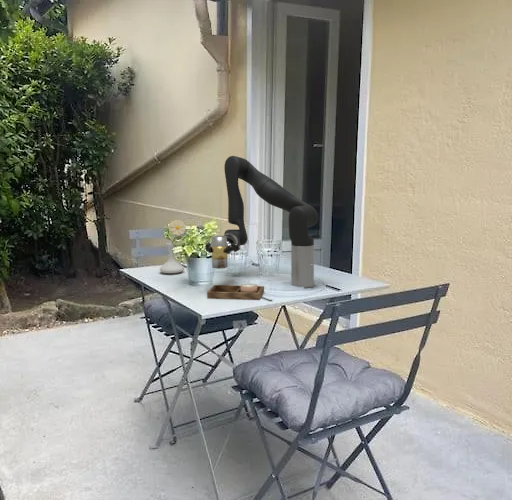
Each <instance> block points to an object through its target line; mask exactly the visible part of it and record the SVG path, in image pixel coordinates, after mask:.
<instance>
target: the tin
mask: <svg viewBox="0 0 512 500" xmlns="http://www.w3.org/2000/svg"><path fill="white" fill-rule="evenodd" d="M210 238H211V239H210V240H211V245H212V252H211V260H212V261H211V266H212V267H211V268H212V269H216V270H217V269H218V270H219V269H227V268H228V267H229V265H228V262H229V261H228V259H229V258H228V257H229V255H228V254H227V253H226V247H227V236H223V235H212V236H211V237H210Z"/></svg>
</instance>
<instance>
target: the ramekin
mask: <svg viewBox="0 0 512 500" xmlns="http://www.w3.org/2000/svg"><path fill="white" fill-rule="evenodd" d="M240 286H241V292H242V293H257V286H258V284H256V283H251V282H250V283H241V284H240Z"/></svg>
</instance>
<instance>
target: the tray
mask: <svg viewBox="0 0 512 500" xmlns="http://www.w3.org/2000/svg"><path fill="white" fill-rule="evenodd" d="M264 293H265V286H264V285H257V293H242V292H241V285H231V284H230V285H229V284H227V285H226V284H214V285H213V286H212V287H211V288H209V289H208V291H207V292H206V297H207V299H208V300H210V299H211V300H213V299H214V300H215V299H216V300H243V301H245V300H247V301H260V300H261V298H262V296H263V294H264Z"/></svg>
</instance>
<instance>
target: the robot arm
mask: <svg viewBox="0 0 512 500" xmlns="http://www.w3.org/2000/svg"><path fill="white" fill-rule="evenodd" d="M223 168H224V175H225V176H224V177H225V183H226V184H225V185H226V190H227V191H226V192H227V201H228V205H227V207H228V209H227V220H228V221H227V222H228V223H229V224H230V225H231V224H232V225H235V226H237V227H238V229H227V230H225V231H224V233H223V235H222V236H227V247H226V253H227V255H228V254H231V253H232V252H234V253H236V252H238V251H240V250H241V246H245V245H246V244H247V242H248V234H247V230H246V226H245V218H244V217H245V205H244V200H243V196H242V194H241V190H240V186H239V179H240V180H242V181H244V182H246V183H247V184H249V185H250V186H251V187H252V188H253V190H254V191H255V193H256V195H257V196H258V197H260V198H261V199H262V200H263V201H264V202H266V203H267V204H269V205H271V206H273V207H276V208H279V209H281V210H284V211H286V212H288V232H289V234H288V235H289V239H290V242H291V245H290V247H291V248H290V249H291V250H290V254H291V256H290V257H291V262H290V263H291V264H290V265H291V267H290V268H291V269H290V270H291V271H290V273H291V274H290V275H291V276H290V277H291V280H290V281H291V282H290V283H291V286H294V287H297V288H304V289H307V288H314V285H315V262H314V261H315V260H314V255H315V254H314V253H315V249H314V248H315V247H314V246H315V240H314V238H313V237H312V236H310V235H309V233H308V232H309V231H308V228H311V227H314V226H315V225H317V223H318V222H319V214H318V212H317V210H316V209H315V207H313V206H312V205H310V204H309V203H307V202H305V201H304V200H301V199H300V198H298V197H296V196H295V195H294V194H293V193H291V192H290V191H289V190H287V189H286V188H284V187H283V186H281V185H280V184H279V183H278V182H277V181H275V180H273V179H272V178H270V177H269V176H267V175H265V174H264V173H262V172H261V171H259V170H258V169H257V167H255V166H254V165H253V164H252V163H251V162H250V161H249V160H247V159H246V158H243V157H239V156H237V155H230V156H228V157H227V158H226V160H225V162H224V167H223ZM205 252H207V253H209V254H212V242H206V244H205Z"/></svg>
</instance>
